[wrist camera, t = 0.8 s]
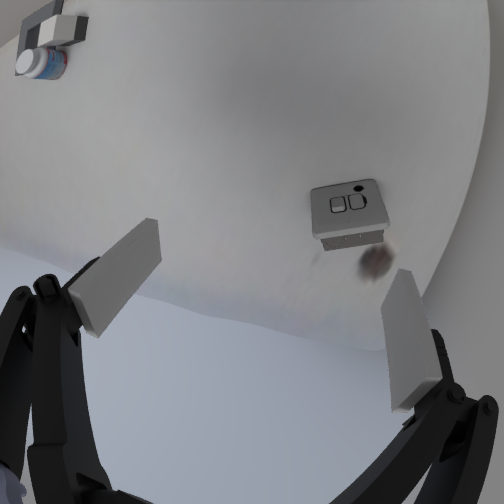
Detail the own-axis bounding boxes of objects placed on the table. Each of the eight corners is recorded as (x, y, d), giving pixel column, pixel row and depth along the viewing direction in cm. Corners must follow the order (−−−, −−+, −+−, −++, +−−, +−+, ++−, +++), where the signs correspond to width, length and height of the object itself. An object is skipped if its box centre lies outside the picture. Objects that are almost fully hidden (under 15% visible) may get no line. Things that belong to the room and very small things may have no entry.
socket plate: (30, 19, 27) (22, 20, 25) (64, 0, 25) (55, -1, 23) (22, 74, 35) (15, 76, 33) (54, 61, 33) (45, 62, 31)
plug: (71, 23, 28) (41, 22, 22) (88, 17, 28) (57, 14, 21) (68, 45, 31) (37, 46, 24) (85, 40, 30) (52, 39, 24)
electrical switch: (374, 177, 34) (389, 208, 27) (379, 210, 37) (392, 247, 30) (310, 188, 38) (307, 221, 30) (317, 220, 40) (317, 258, 33)
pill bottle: (74, 58, 34) (41, 51, 24) (57, 84, 35) (23, 83, 26) (58, 48, 32) (26, 40, 22) (42, 73, 33) (8, 71, 23)
